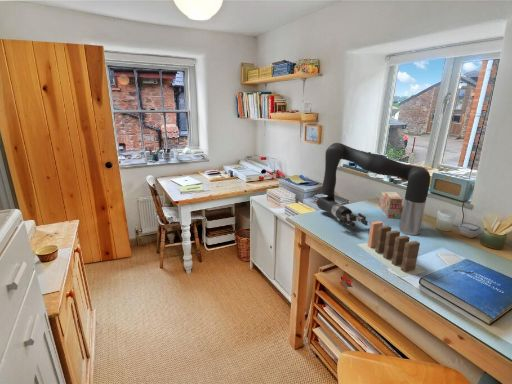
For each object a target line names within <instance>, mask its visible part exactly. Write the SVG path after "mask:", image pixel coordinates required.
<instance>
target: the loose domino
mask: <svg viewBox="0 0 512 384" xmlns="http://www.w3.org/2000/svg"><path fill="white" fill-rule="evenodd" d="M381 226H384V222H383V221H381V220H377V221H371V222H370V226H369V234H368V242H367V243H368V247H369V248H375V247H376V242H377V235H378V228H379V227H381Z"/></svg>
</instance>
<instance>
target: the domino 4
mask: <svg viewBox="0 0 512 384" xmlns="http://www.w3.org/2000/svg"><path fill="white" fill-rule="evenodd" d="M420 245H421V243H420V242H419V241H417V240H414V241H413V240H412V241H409V242H406V243H405V248H404V254H403V259H402V265H401V270H402V271H403V272H409V271H414V270H415V267H416V265H417V262H418V255H419V251H420Z"/></svg>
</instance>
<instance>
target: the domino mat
mask: <svg viewBox="0 0 512 384" xmlns="http://www.w3.org/2000/svg"><path fill="white" fill-rule="evenodd" d="M357 246H358V247H360V248H361V249H363V250H364V251H366V252H367V253H368V254H369V255H370V256H372V257H374V258H375V259H376V260H377V261H379V262H380V263H381V264H383V265H384V266H385V267H387V268H388V269H390V270H391V271H392V272H394V273H395V274H396V275H398V276H399V277H400V278H404V277H408V276H411V275H416V274H420V273H421V274H422V273H426V271H425V270H424V269H423V268H422V267H419V266H418V265H417V264H416V267H415V270H414V271H409V272H403V271H402V270H401V265H402V264H401V265H396V266H395V265H393V264H392V259H385V258H384V257H383V254H384V253H379V254H378V253H377V252H375V249H376V247H375V248H369V247H368V242H363V243H357Z"/></svg>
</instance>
